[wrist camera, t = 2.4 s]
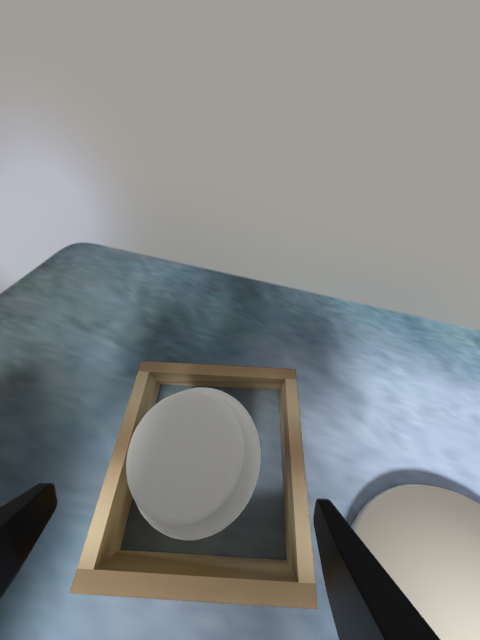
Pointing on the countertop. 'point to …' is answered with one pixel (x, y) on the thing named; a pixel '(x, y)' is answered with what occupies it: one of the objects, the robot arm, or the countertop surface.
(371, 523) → the plate
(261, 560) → the bin frame
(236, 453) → the supplement bottle
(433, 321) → the countertop surface
